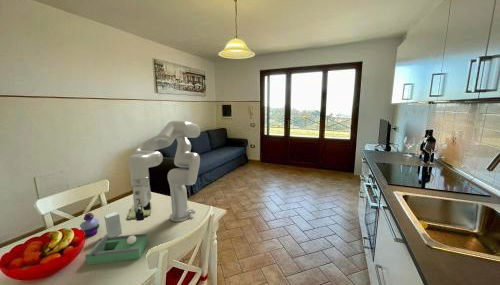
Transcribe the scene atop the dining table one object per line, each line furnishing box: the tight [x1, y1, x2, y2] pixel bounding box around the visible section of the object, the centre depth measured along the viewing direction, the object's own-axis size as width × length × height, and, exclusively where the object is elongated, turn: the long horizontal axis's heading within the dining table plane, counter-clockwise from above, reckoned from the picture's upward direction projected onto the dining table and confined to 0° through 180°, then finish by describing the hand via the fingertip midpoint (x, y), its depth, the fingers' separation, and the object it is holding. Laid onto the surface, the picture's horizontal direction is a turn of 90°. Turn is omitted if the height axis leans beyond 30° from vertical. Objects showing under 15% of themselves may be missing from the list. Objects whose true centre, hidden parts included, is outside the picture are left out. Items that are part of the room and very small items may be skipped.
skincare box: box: [104, 211, 123, 237], centre depth 113 cm, size 6×4×12 cm
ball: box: [127, 234, 136, 245], centre depth 100 cm, size 4×4×4 cm
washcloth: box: [127, 201, 152, 220], centre depth 138 cm, size 13×18×3 cm
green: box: [84, 232, 149, 266], centre depth 99 cm, size 22×12×6 cm, turn 100°
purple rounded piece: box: [79, 212, 100, 238], centre depth 114 cm, size 9×9×12 cm
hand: (143, 214), depth 99 cm, fingers open, 9 cm apart
